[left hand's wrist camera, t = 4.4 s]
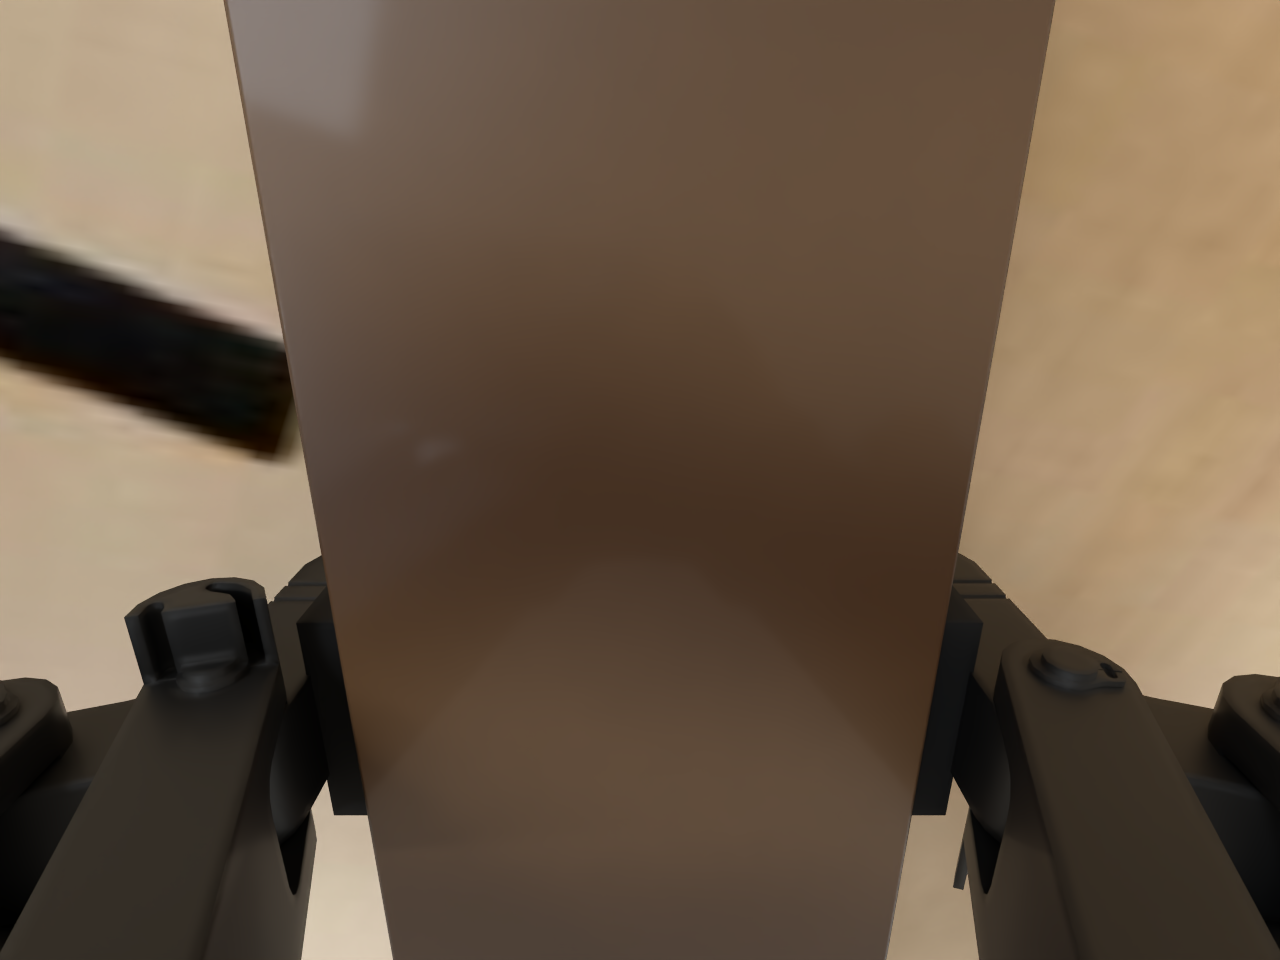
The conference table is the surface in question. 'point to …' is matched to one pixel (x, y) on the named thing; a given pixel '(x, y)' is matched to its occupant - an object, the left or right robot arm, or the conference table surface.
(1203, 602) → the conference table surface
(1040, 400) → the conference table surface
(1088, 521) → the conference table surface
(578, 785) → the post
